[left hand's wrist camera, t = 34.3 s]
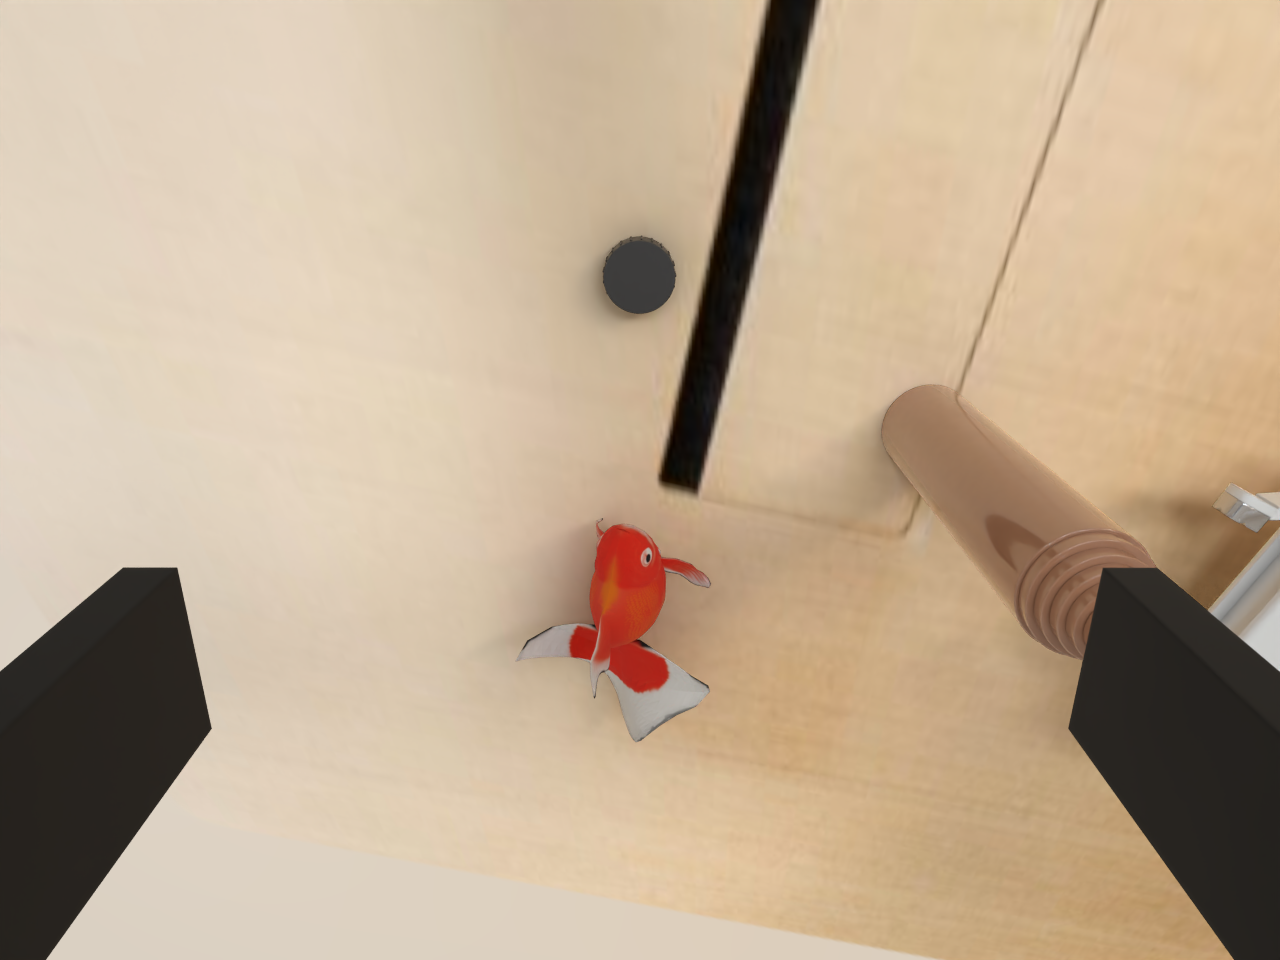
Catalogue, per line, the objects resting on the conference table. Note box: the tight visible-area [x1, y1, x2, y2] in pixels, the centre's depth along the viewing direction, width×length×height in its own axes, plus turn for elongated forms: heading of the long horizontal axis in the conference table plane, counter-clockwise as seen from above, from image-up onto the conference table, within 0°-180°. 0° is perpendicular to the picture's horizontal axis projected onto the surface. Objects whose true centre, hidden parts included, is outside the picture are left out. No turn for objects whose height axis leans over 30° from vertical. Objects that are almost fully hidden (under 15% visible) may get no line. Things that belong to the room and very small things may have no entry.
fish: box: [516, 518, 711, 742], centre depth 51 cm, size 11×16×10 cm
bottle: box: [882, 385, 1156, 660], centre depth 40 cm, size 5×5×25 cm
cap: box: [603, 236, 676, 314], centre depth 47 cm, size 4×4×2 cm
